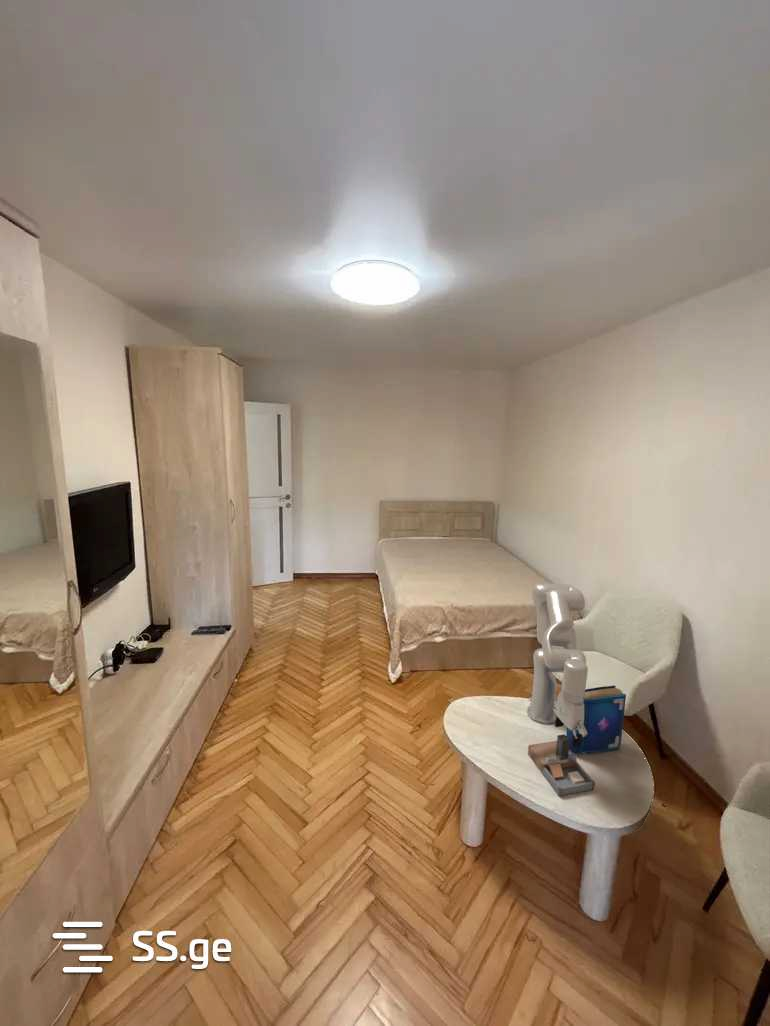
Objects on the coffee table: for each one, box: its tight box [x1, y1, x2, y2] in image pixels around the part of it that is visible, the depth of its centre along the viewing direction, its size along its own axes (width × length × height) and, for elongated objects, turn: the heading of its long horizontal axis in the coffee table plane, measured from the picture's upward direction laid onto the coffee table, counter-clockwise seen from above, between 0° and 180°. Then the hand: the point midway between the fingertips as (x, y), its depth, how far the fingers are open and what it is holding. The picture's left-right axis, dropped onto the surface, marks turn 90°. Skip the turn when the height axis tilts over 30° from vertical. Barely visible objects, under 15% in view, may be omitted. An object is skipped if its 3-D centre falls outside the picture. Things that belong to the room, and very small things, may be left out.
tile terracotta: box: [549, 764, 563, 778], centre depth 154 cm, size 4×4×2 cm
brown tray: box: [527, 740, 578, 775], centre depth 161 cm, size 10×14×4 cm
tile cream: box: [567, 771, 585, 784], centre depth 152 cm, size 4×4×2 cm
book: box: [565, 685, 627, 755], centre depth 167 cm, size 22×7×25 cm, turn 101°
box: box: [542, 761, 596, 797], centre depth 152 cm, size 10×14×3 cm
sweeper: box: [546, 734, 578, 766], centre depth 155 cm, size 3×12×10 cm, turn 103°
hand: (567, 735), depth 152 cm, fingers open, 9 cm apart
